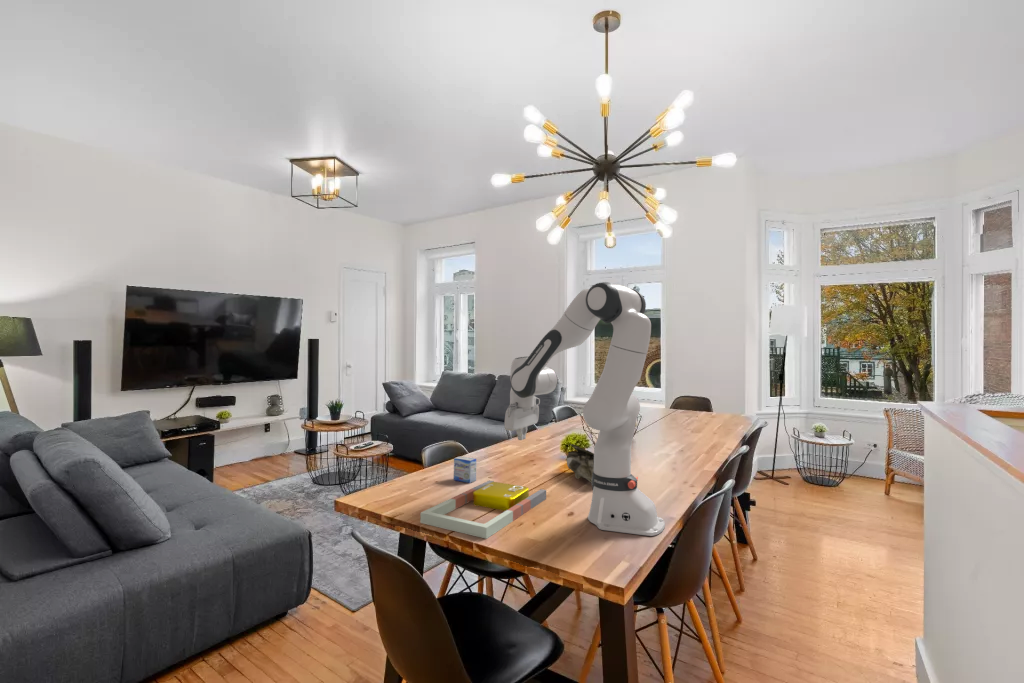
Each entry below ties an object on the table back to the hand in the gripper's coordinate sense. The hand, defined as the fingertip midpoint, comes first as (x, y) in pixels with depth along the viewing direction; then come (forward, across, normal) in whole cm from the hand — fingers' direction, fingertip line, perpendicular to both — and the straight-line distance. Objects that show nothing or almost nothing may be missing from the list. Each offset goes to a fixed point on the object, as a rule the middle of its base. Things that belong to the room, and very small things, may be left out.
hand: (521, 439), depth 175 cm
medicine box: (+19, 0, +25) cm, 31 cm away
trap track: (+18, -23, 0) cm, 30 cm away
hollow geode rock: (+19, +28, -16) cm, 38 cm away
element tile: (+19, -14, 0) cm, 24 cm away
